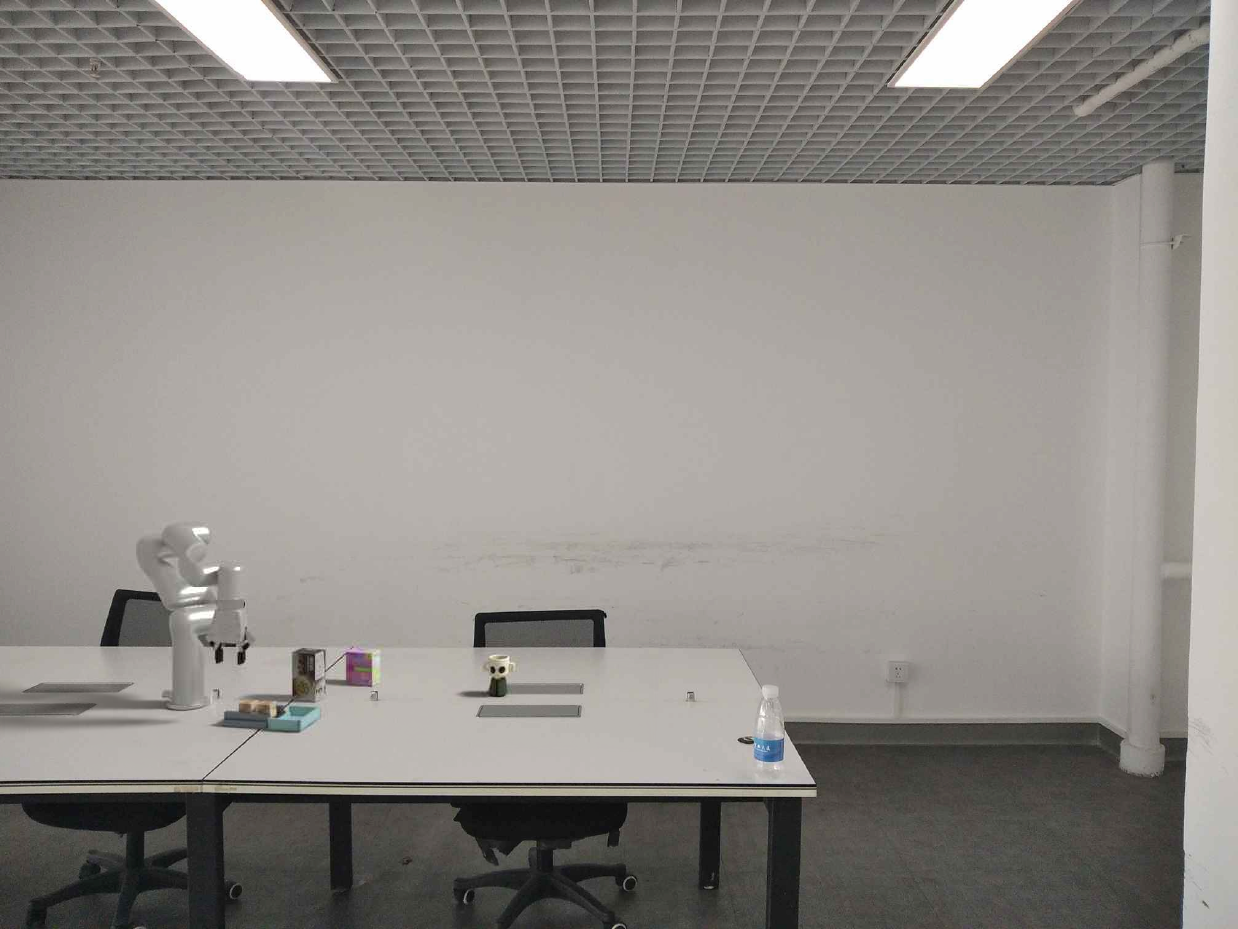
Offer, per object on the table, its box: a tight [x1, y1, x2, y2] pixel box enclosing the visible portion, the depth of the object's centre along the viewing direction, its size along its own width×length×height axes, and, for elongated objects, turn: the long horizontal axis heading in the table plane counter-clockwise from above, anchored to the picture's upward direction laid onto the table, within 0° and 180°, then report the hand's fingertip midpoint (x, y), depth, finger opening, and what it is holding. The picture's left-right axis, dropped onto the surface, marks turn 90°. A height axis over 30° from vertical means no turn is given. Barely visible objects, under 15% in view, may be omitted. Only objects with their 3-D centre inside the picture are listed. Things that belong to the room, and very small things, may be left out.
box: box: [345, 647, 381, 687], centre depth 332 cm, size 10×6×12 cm, turn 76°
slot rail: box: [221, 704, 287, 730], centre depth 287 cm, size 14×12×4 cm
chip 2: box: [257, 700, 277, 717], centre depth 286 cm, size 4×4×4 cm
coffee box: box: [291, 647, 327, 703], centre depth 312 cm, size 9×6×16 cm
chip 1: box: [238, 699, 259, 712], centre depth 287 cm, size 4×4×4 cm
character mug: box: [482, 654, 516, 696], centre depth 321 cm, size 11×7×13 cm, turn 87°
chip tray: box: [267, 704, 322, 733], centre depth 285 cm, size 10×14×4 cm
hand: (230, 662), depth 287 cm, fingers open, 6 cm apart
